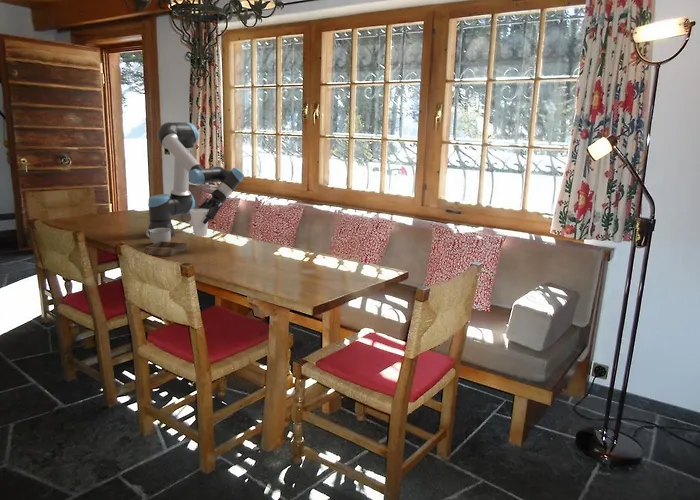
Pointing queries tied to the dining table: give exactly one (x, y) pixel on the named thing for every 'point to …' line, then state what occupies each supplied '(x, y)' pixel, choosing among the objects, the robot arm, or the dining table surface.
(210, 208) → the robot arm
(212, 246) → the dining table surface
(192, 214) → the foam cup
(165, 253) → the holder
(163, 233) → the teacup
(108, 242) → the dining table surface
